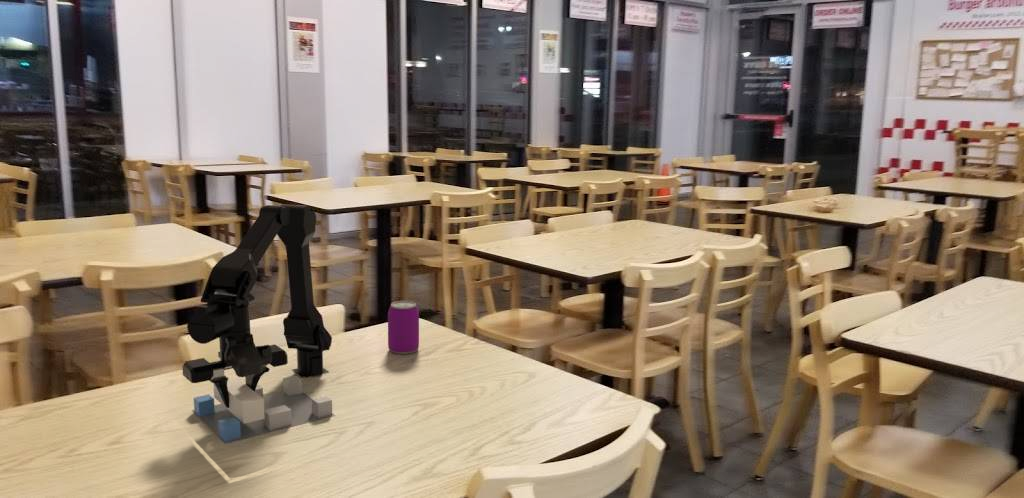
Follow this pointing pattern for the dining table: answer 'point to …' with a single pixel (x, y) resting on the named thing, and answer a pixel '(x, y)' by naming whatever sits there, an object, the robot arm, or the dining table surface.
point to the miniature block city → (265, 412)
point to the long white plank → (242, 401)
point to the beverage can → (403, 327)
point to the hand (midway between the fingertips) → (238, 404)
